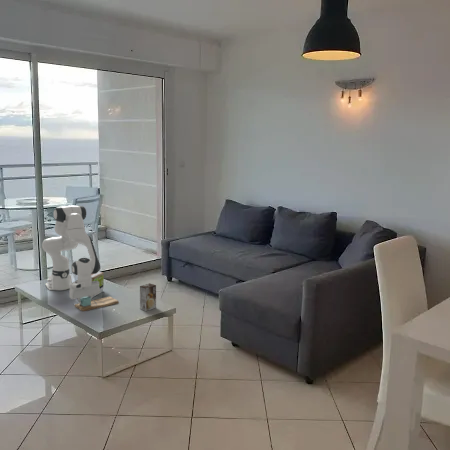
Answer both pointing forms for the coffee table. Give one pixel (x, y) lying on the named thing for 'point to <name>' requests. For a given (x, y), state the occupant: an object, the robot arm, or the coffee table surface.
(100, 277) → the tea box
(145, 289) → the coffee box
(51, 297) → the coffee table surface
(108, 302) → the board
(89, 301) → the block
